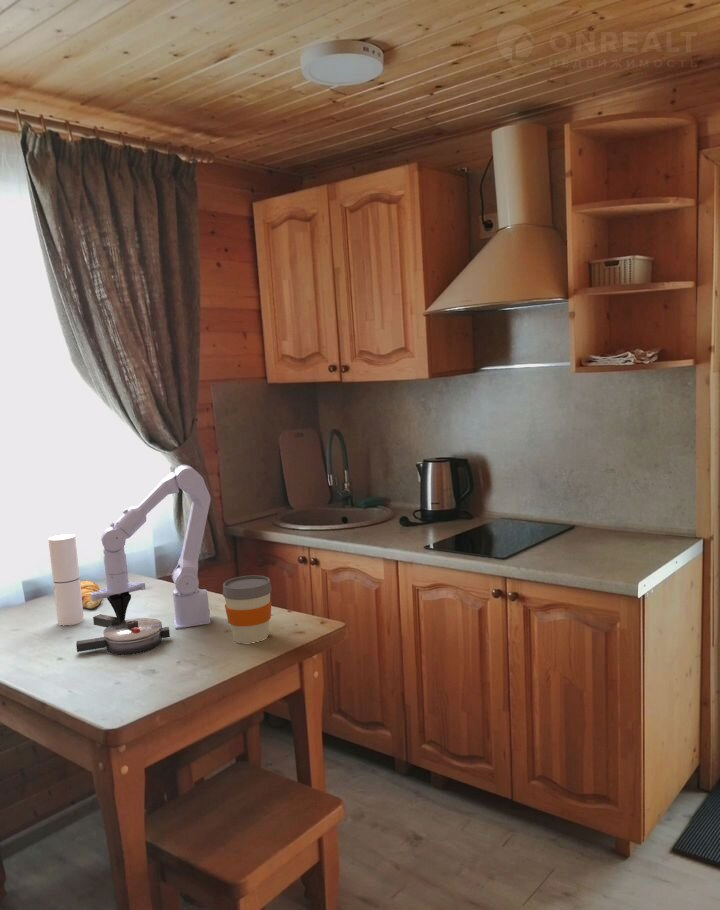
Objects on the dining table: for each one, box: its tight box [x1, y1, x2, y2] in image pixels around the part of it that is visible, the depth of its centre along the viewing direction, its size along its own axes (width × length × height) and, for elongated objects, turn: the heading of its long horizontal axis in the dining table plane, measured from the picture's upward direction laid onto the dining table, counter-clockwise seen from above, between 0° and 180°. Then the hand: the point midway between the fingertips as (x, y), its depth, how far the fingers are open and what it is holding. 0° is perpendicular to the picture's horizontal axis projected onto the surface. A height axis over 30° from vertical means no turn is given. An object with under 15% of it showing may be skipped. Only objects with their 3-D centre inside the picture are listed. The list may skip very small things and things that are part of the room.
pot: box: [75, 626, 171, 656], centre depth 197 cm, size 23×14×4 cm, turn 108°
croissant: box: [80, 580, 103, 609], centre depth 238 cm, size 21×10×8 cm, turn 35°
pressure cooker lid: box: [92, 614, 163, 642], centre depth 199 cm, size 21×15×2 cm
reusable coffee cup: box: [222, 574, 273, 644], centre depth 197 cm, size 13×12×15 cm
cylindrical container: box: [48, 533, 85, 627], centre depth 218 cm, size 7×7×25 cm
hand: (121, 620), depth 206 cm, fingers closed
